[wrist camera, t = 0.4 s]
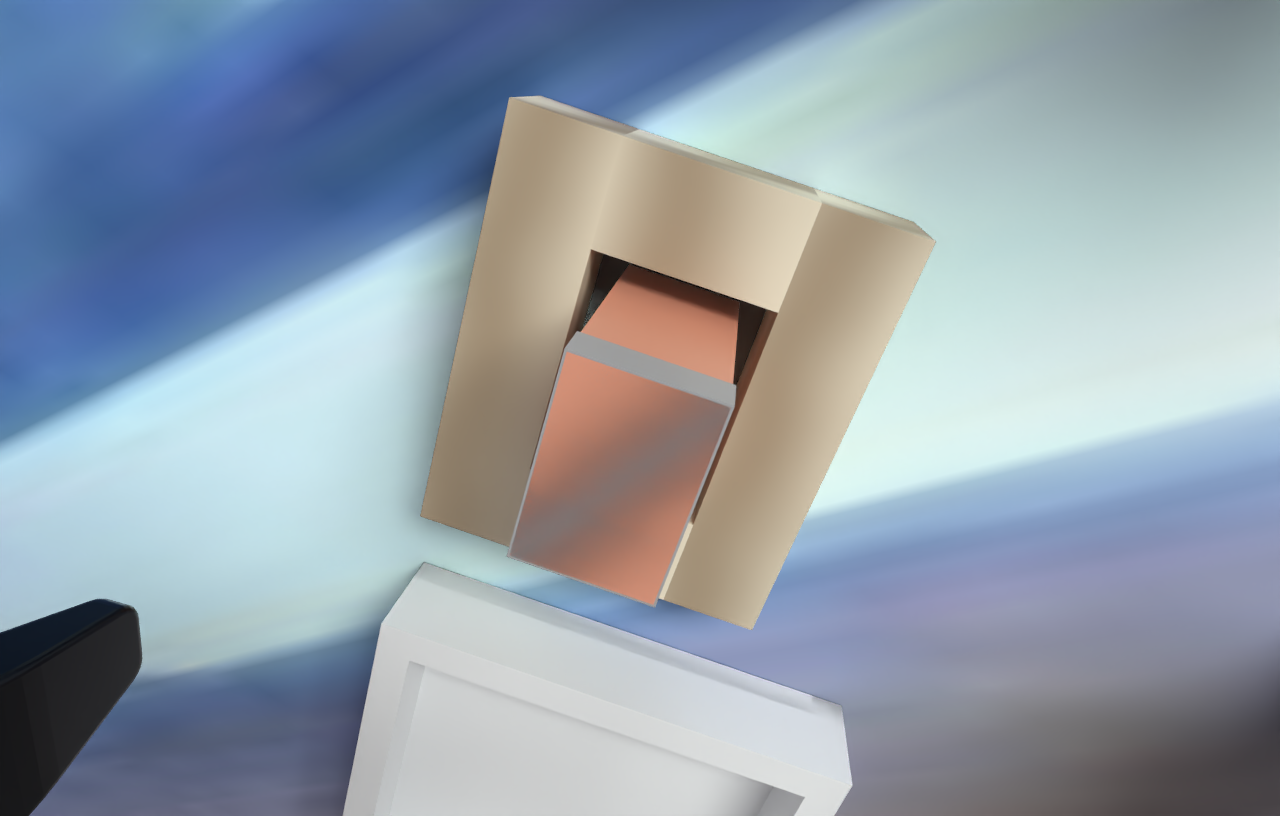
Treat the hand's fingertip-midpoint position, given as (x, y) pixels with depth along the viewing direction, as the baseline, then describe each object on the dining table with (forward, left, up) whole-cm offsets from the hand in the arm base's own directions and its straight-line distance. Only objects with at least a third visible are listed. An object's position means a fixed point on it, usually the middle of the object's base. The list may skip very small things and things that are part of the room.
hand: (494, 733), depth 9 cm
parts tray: (-2, +15, -13) cm, 20 cm away
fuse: (0, 0, -13) cm, 13 cm away
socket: (0, 0, -13) cm, 13 cm away
